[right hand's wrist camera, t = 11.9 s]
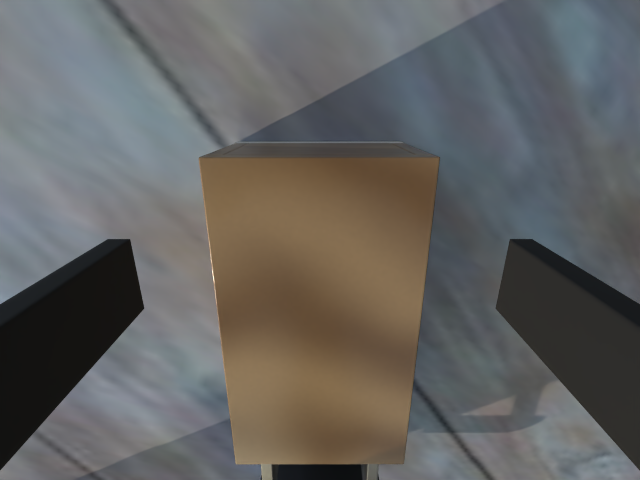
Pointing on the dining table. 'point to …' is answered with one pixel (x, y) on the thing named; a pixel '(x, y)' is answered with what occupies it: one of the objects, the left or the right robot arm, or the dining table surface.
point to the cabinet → (319, 294)
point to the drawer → (319, 471)
